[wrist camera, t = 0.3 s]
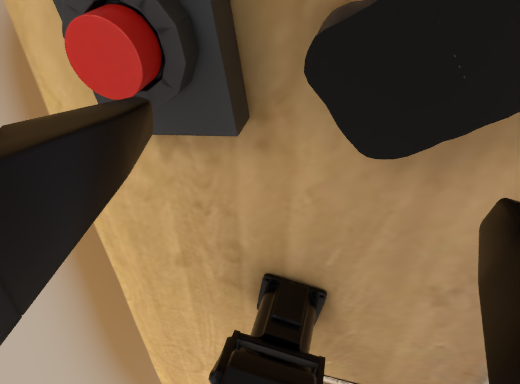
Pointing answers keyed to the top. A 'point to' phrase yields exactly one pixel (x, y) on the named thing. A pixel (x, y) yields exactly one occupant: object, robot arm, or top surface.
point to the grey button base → (186, 64)
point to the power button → (113, 51)
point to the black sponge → (416, 70)
